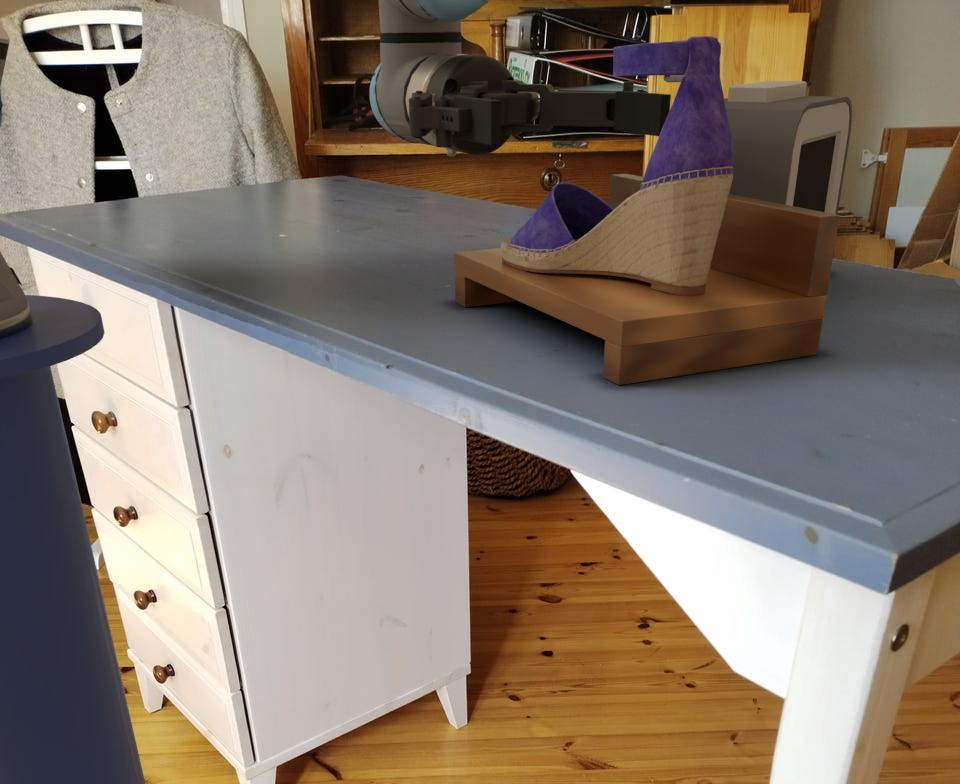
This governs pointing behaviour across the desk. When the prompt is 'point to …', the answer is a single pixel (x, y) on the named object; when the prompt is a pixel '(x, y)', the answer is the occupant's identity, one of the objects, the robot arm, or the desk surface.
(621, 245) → the sandal
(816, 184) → the alarm clock
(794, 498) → the desk surface
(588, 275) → the shoe rack
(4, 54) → the robot arm
